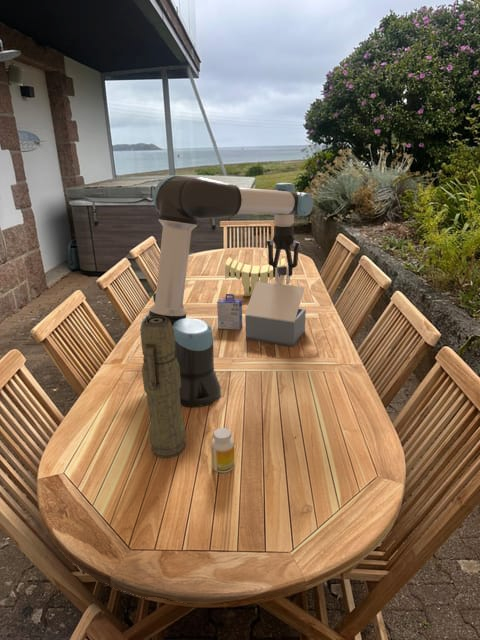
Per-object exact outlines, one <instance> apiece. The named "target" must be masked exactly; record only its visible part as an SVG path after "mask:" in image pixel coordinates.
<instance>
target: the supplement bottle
mask: <svg viewBox="0 0 480 640" xmlns="http://www.w3.org/2000/svg"><path fill="white" fill-rule="evenodd" d="M210 443H211V445H210V447H211V448H210V449H211V466H212V469H213V470H214V471H216V472H217V473H223V474H224V473H225V474H226V473H230V472H231V471H232V470H233V469H234V467H235V441H234V438H233V437H232V431H231V430H230V429H229V428H227V427H219V428H217V429H215V430H214V432H213V438H212V440H211V442H210Z"/></svg>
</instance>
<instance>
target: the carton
mask: <svg viewBox="0 0 480 640" xmlns="http://www.w3.org/2000/svg"><path fill="white" fill-rule="evenodd" d="M306 312H307V309H306V308H302V307H299V308H298V312H297V315H296V318H295V322H286V321H279V320H272V319H265V318H258V317H251V316H245V315H244V316H245V317H244V318H245V340H250V341H256V342H262V343H267V344H268V343H269V344H273V345H275V344H276V345H279V346H280V345H281V346H287V347H291V348H292V347H293V348H294V347H295V345H296V344H297V343H298V341H299V340H300V339H301V337H303V335H304V333H305V332H306V314H307V313H306Z"/></svg>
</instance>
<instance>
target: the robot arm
mask: <svg viewBox="0 0 480 640" xmlns="http://www.w3.org/2000/svg"><path fill="white" fill-rule="evenodd" d="M152 197H153V198H152V201H153V205H154V207H155V209H156V211H158V212H159V213H158V222H159V223H160V224H161V226H162V234H161V241H160V242H161V243H160V252H159V262H158V271H157V280H156V281H157V282H156V290H155V293H156V299H155V303H154V304H153V305H152V306H150V308H149V310H148V313H147V314H146V315H145V317H144V318H143V319H142V321H141V324H140V330H139V331H140V333H141V328H142V324H143V322H144V321H145V320H146V319H148V318H150V317H156V316H161V317H165V318H168V319H169V320H170V322H171V324H172V327H173V329H174V336H175V348H176V350H175V354H176V359H177V361H178V363H179V366H180V378H181V387H180V389H179V391H180V403H181V406H182V407H183V406H184V407H189V408H196V407H197V408H198V407H203V406H206V405H207V406H208V405H210V404H213V403H214V402H216V401H217V400H218V399H219V398H220V396H221V383H220V382H219V378H218V377H217V374H216V371H215V366H214V365H215V362H214V361H215V359H214V358H215V357H214V335H213V330H212V326H211V325H210V324H209V323H208V322H206V321H205V320H203V319H200V318H196V317H195V318H193V317H187V311H186V310H185V308H184V309H183V307H184V304H183V303H184V297H185V296H184V295H185V290H186V289H185V286H186V279H187V271H188V263H189V254H190V253H189V252H190V246H191V245H190V244H191V236H192V231H193V230H194V229H195V228H196V227H197V226H198V220H211V219H220V218H221V219H222V218H234V217H236V216H237V215H274V217H273V218H274V219H273V220H274V221H273V225H274V226H273V238H272V239H268V240H266V244H267V248H268V249H267V250H268V251H267V252H268V253H267V254H268V255H267V257H268V259H267V260H268V264H269V266H270V265H271V266H273V275H275V277H274V284H277V283H278V280H279V278H280V277H279V272H278V269H279V267H280V265H279V266H277V265H278V261H279V260H280V257H281V256H280V255H281V251H282V250H284V252H285V254H286V256H285V257H286V261H287V270H286V275H285V281H286V283H285V285H290V283H291V277H293V271H294V270H293V269H295V268H296V267H298V265H299V263H298V262H299V249H300V246H301V242H300V241H296V240H295V238H294V220H295V216H299V217H300V216H303V217H304V216H308V215H310V213H311V212H312V210H313V208H314V199H313V196H312V195H311V194H310V193H309V192H304V191H300V192H299V191H296V190H295V184H294V183H291V182H277V183H275V184H274V188H273V189H262V188H251V187H250V188H249V187H239V186H238V185H237V184H235V183H232V182H225V181H221V180H215V179H212V178H207V177H204V176H203V177H200V176H188V175H187V176H183V175H175V176H174V175H173V176H167V177H165V178H162V179H161V180H160V181H159V182H158V183H157V184H156V186H155V189H154V191H153V196H152ZM274 245H275V254H274ZM292 245H293V247H294V248H293V255H292V251H291V246H292ZM292 256H293V257H292ZM182 306H183V307H182Z"/></svg>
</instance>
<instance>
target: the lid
mask: <svg viewBox="0 0 480 640" xmlns="http://www.w3.org/2000/svg"><path fill="white" fill-rule="evenodd" d="M287 268H288V266H286V265H285V266H281V265H280V266H279V269H278V272H279V274H280V277H279V280H278V283H271V282H268V283H263V282H260V281H259V282H256V285H255V288H254V290H253V293H252V296H251V295H250V299H249V301H248V304H247V307H246V310H245V313H244V316H251V317H258V318H265V319H272V320H279V321H286V322H295V318H296V315H297V312H298V308H300V305H301V301H302V297H303V294H304V292H305V286H300V285H299V286H298V285H290V284H288V285H286V284H283V282H284V280H285V278H286V270H287Z"/></svg>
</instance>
